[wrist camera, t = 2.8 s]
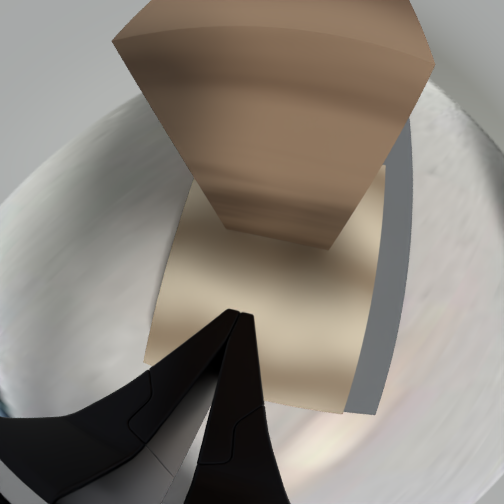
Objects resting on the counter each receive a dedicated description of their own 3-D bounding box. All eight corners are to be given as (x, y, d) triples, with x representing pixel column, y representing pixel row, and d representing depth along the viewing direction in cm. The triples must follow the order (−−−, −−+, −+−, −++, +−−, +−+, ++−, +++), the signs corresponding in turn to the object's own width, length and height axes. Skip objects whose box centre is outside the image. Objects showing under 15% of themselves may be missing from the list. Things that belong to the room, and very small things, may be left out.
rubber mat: (373, 413, 15) (375, 415, 15) (158, 364, 18) (156, 364, 17) (406, 104, 20) (407, 102, 20) (247, 73, 23) (247, 71, 22)
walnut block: (328, 250, 16) (435, 64, 3) (226, 228, 17) (111, 41, 4) (343, 148, 17) (389, -36, 4) (254, 132, 18) (218, -51, 5)
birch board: (335, 403, 16) (342, 414, 13) (158, 358, 17) (143, 362, 15) (376, 180, 19) (385, 165, 16) (216, 150, 20) (210, 133, 18)
